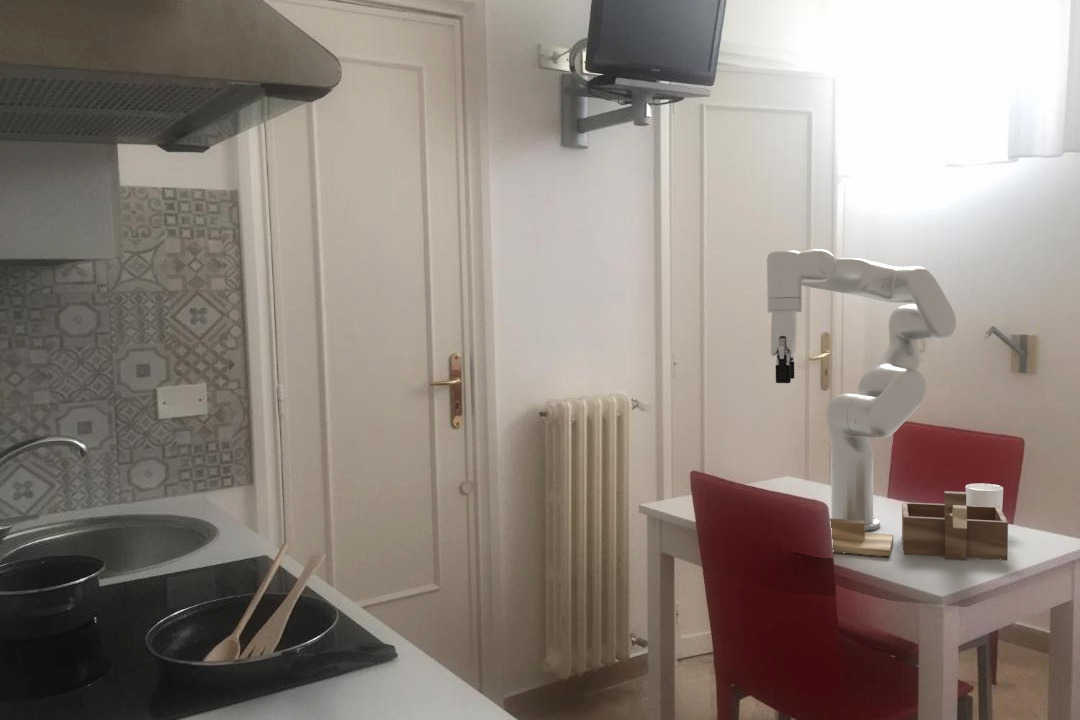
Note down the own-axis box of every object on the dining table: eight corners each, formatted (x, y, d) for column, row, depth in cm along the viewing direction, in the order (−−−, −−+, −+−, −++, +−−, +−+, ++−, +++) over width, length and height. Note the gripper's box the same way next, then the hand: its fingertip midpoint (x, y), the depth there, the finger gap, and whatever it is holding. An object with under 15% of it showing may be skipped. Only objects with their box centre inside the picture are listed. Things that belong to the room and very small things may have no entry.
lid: (805, 537, 216) (804, 510, 215) (893, 544, 208) (893, 516, 208) (796, 552, 204) (796, 524, 203) (889, 560, 196) (889, 531, 196)
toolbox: (902, 536, 212) (902, 476, 211) (999, 542, 205) (999, 479, 204) (903, 556, 197) (903, 491, 196) (1008, 563, 190) (1009, 496, 189)
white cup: (1010, 531, 214) (1011, 488, 213) (984, 535, 211) (984, 492, 210) (983, 523, 221) (984, 482, 220) (957, 527, 218) (957, 485, 218)
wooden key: (950, 516, 191) (950, 497, 191) (962, 517, 191) (962, 498, 190) (953, 527, 183) (953, 507, 182) (966, 528, 182) (966, 508, 182)
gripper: (771, 304, 220) (772, 376, 221) (763, 307, 204) (764, 384, 205) (804, 304, 217) (805, 376, 219) (798, 306, 201) (799, 385, 203)
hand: (785, 380), depth 212 cm, fingers open, 9 cm apart
